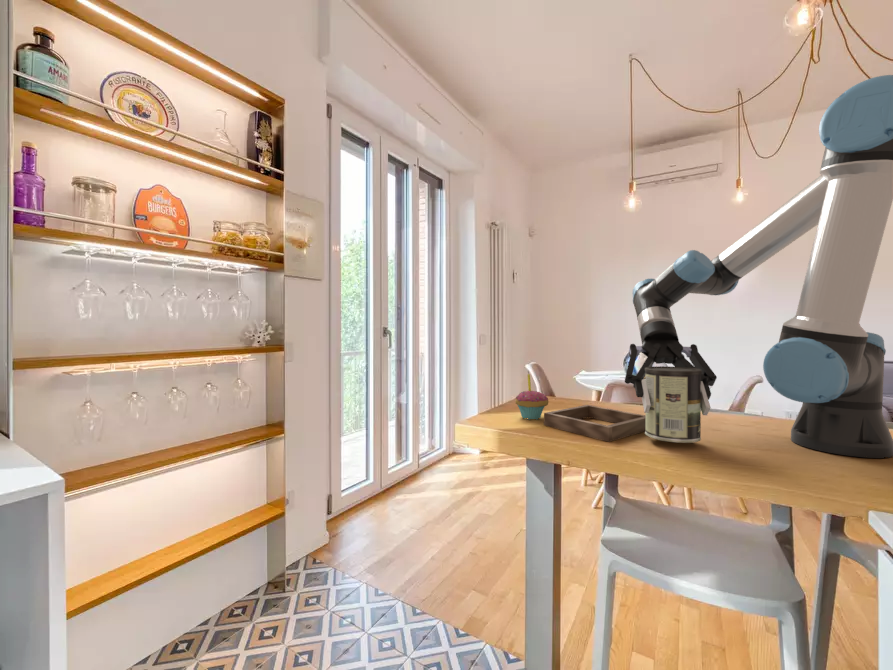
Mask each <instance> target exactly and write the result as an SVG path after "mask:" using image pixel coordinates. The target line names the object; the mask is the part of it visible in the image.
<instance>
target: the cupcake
mask: <svg viewBox="0 0 893 670" xmlns="http://www.w3.org/2000/svg"><path fill="white" fill-rule="evenodd" d="M529 372H530V371H529V370H528V371H527V385H528V386H527V388H528V390H525V391H522V392H519V394H518V395H516V396H515V401H514V402H515V404H516V405H517V407H518V410H519V412H520V414H521V415H520V416H521V418H522V417H523V418H522V419H524V418H528V419H527V420H530V419H536V420H539V419H538V418H540V419H541V417H542V414H543V410H544V409H545V408H546V407H547V406H548V405H549V402H550V401H549V398H548V397H547V395H545V394H544V393H543V392H540V391H536V390H532V387H531V385H532V384H531V382H532V381H531V374H530V373H529Z"/></svg>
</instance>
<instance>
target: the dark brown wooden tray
mask: <svg viewBox="0 0 893 670" xmlns="http://www.w3.org/2000/svg"><path fill="white" fill-rule="evenodd" d="M587 417H588V418H589V417H590V419H594V420H599V421H604V422H609V423H612V424H608V425H606V424H602V423H597V422H594V421H593V422H592V421H588V420H584V419H587ZM582 418H583V419H582ZM545 425H546V427H549V428H553V429H558V430H561V431H565V432H568V433H573V434H576V435H581V436H583V437H589V438H592V439H596V440H600V441H604V442H609V443H610V442H612V441H616V440H619V439H624V438H626V436H627V437H630V435H631V436H633V434H634V435H637V434H641V433H645V431H646V430H645V429H646V414H645V415H644V414H639V413H635V412H634V413H633V412H628V411H623V410H618V409H612V408H608V407H607V408H606V407H602V406H596V405H591V404H584V405H579V406H574V407H567V408H563V409H558V410H553V411H547V412H544V413H543V426H545ZM640 432H641V433H640ZM623 437H624V438H623Z"/></svg>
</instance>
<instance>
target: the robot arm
mask: <svg viewBox="0 0 893 670" xmlns="http://www.w3.org/2000/svg"><path fill="white" fill-rule="evenodd" d="M824 111H825V112H824V113H823V115H822V116H821V118H820V120H819V121H820V122H819V126H818V135H819V139H820V143H822V145H823V146H824V147H825V148H824V153H823V157H822V160H821V165H820V168H819V174H820V175H819V176H818V177H817V178H815V179H814V180H813V181H812V182H810V183H809V184H808V185H807V186H805V187H804V188H803V189H801V190H800V191H798V192H797V194H795V195H794V196H792V197H791V198H790V199H788V200H787V201H786V202H784V203H783V204H782V205H781V206H779V207H778V208H777V209H776V210H774V211H773V212H772V213H770V214H769V215H768V216H767V217H765V218H764V219H762V220H761V221H760V222H759V223H757V224H756V225H755V226H754V227H752V228H751V229H750V230H749V231H747V232H745V234H744V235H742V236H741V237H739V238H738V239H737V240H736V241H735V242H733V243H732V244H730V245H729V246H728V247H727V248H726V249H724V250H723V251H722V252H720V253H719V254H718V255H717V256H716V257H714V258H712V260H711V259H710V258H709V257H708V256H707V255H706V254H704V253H703V252H700V251H699V250H697V249H696V250H695V249H691V250H688V251H687V252H685V253H684V254H683V255H681V256H679V257H678V258H677V259H676V260H675V261H674V262H673V263H671V264H670V266H668V267H667V268H666V269H665V270H664V271H663V272H661V273H660V275H657V276H656V277H655V278H645V279H644V280H641V281H638V282H636V284H635V285H634V286H633V289H632V304H633V305H634V310H635V314H636V318H637V325H638V330H639V335H640V340H641V344H642V345H636V344H634V343H630V345H629V349H628V356H629V361H628V365H627V369H626V372H625V373H626V374H625V377H624V383H625V384H627V385H628V384H632V385H633V388H634V389H635V395H636V397H637V398H641V401H642V406H643V413H645V414H646V413H649V410H650V406H651V404H650V399H649V394H648V389H647V385H646V379H645V378H646V372H645V368H646V367H653V365H654V363H656V364H667V365H669V364H670V365H673V367H687V368H696V369H700V370H702V373H701V413H702V416H708V414H709V412H710V410H711V405H710V401H709V400H710V398H711V396H712V392H711V389H710V387H713V386H714V384H715V382H716V381H717V375H716V374H715V373H714V371H713V370H712V368H711V367H710V366H709V364H708V363H707V362H706V360H705V359H704V358H703V356H702V355H701V354H700V353H699V350H698V346H697V344H694V343H693V344H691V345H690V346H683V345H682V344H681V343H680V341H679V340H680V339H679V336H678V333H677V330H676V327H675V322H674V319H673V315H672V311H671V307H672V306H674V305H676V304H677V303H678V302H679V301H681V300H682V299H683V298H684V297H686V296H687V295H689V294H696V295H697V294H699V295H710V296H720V295H721V296H722V295H727V294H730V293H731V292H733V291H734V290H735V289H736V287H737V286H738V284H739V280H740V279H742V278H743V277H745V276H747V275H748V274H750V273H751V272H752V271H754V270H755V269H757V268H758V267H759V266H760V265H762V264H764V263H765V262H767V261H768V260H769V259H771V258H772V257H774V256H775V255H777V253H779V252H781V251H782V250H784V249H785V248H786V247H788V246H789V245H790V244H793V243H794V242H795V241H797V240H798V239H800V238H801V237H802V236H804V235H806V233H808V232H809V231H811V230H813V229H814V228H816V227H817V228H816V232H815V235H814V239H813V244H812V248H811V251H810V252H811V253H810V256H809V260H808V264H807V268H806V272H805V277H804V280H803V285H802V290H801V292H800V297H799V301H798V305H797V309H796V312H795V315H794V316H793V317H792V318H789V320H786V321H785V322H782V323H783V324H782V328H781V330H780V331H781V332H780V335H779V340H778V342H777V343H775V344H774V345H772V347H771V348H770V349H769V350H768V351H767V352H766V354H765V356H764V359H763V365H762V368H763V369H762V370H763V373H764V377H765V379H766V381H767V383H768V384H769V385H770V386H771V388H773V390H774V391H776V393H778V394H780V395H781V396H783V397H785V398H786V399H789V400H792V401H795V402H799V403H802V404H801V407H800V409H799V412H798V414H797V416H796V418H795V419H794V422H793V425H792V427H791V429H790V440H791V442H792V443H794V444H797V445H799V446H801V447H804V448H807V449H808V448H809V449H811V450H815V451H820V452H824V453H829V454H834V455H840V456H841V455H843V456H849V457H855V458H869V459H885V458H884V457H888V458H892V457H893V436H892V434H891V431H890V428H889V427H888V425H887V421H886V420H885V416H884V412H883V397H884V373H885V372H884V371H885V355H886V352H887V351H886V350H887V349H886V347H885V341H884V338H883V337H882V336H881V335H879V334H877V333H874V332H868V331H866V330H864V328H863V327H862V326H861V324H860V321H861V318H862V314H863V311H864V310H863V309H864V307H865V303H866V300H867V296H868V293H869V289H870V285H871V282H872V278H873V273H874V270H875V267H876V264H877V263H876V262H877V259H878V256H879V252H880V251H879V250H880V247H881V244H882V240H883V237H884V233H885V231H886V226H887V222H888V219H889V215H890V212H891V208H892V205H893V74H883V75H879V76H874V77H870V78H868V79H866V80H865V79H864V80H863V81H860V82H858V83H856V84H854V85H852V86H851V87H850V88H849V87H848V89H846V90H845V91H844V92H843V93H841V94H840V95H839V96H838V97H836V98H835V99H834V100H833V101H832V103H830V105H829V106H828V107H827V108H826V109H825V110H824ZM640 353H641V354H642V355H644V356H646V359H645V361H644V362H643V364H642V365H641V367H640V368H639V369H638V371H637V372H636V373H637V374H636V375H634V374H633V373H634V369H635V368H634V367H635V364H636V360H637V357H638V356H639V355H640ZM684 354H685V355H684ZM685 356H686V358H689V360H688V359H686V358H685ZM891 456H892V457H891Z"/></svg>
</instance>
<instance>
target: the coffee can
mask: <svg viewBox="0 0 893 670" xmlns="http://www.w3.org/2000/svg"><path fill="white" fill-rule="evenodd" d="M645 372H646V376H645V380H646V385H647V389H648V394H649V399H650V404H651V406H650V410H649V413H645V416H646V429H645V430H646V431H644V434H645V436H647V437H649V438H651V439H655V440H658V441H661V442H669V443H679V444H682V443H684V444H693V443H697V442H700V441H701V440H702V437H701V428H702V427H701V424H702V422H701V421H702V420H701V419H702V418H701V413H702V411H701V373H702V370H700V369H696V368H687V367H675V366H652V367H646V368H645Z"/></svg>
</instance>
